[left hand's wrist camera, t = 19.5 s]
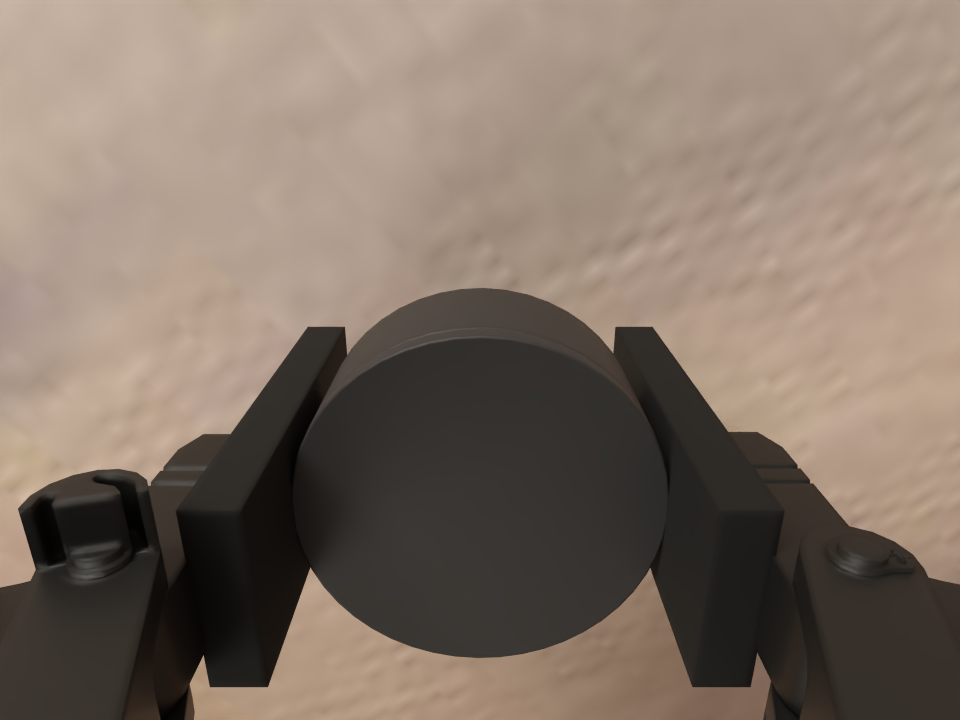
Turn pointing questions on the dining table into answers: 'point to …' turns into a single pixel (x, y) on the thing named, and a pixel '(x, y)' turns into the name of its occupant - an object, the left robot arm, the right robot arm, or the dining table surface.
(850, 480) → the dining table surface
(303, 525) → the lid
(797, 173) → the dining table surface
